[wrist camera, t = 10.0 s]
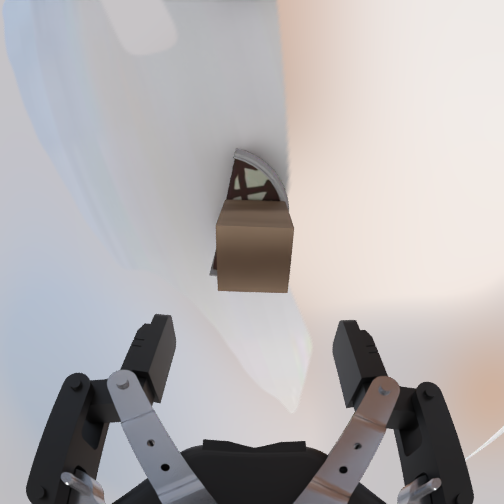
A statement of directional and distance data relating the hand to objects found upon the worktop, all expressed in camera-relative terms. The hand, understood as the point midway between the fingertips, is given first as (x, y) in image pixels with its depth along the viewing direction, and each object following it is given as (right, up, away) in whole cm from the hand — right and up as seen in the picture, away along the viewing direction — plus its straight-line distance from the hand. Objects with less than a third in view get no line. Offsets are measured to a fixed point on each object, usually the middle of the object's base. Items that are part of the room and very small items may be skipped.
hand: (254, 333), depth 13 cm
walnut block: (0, +6, +12) cm, 13 cm away
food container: (0, +10, +21) cm, 23 cm away
